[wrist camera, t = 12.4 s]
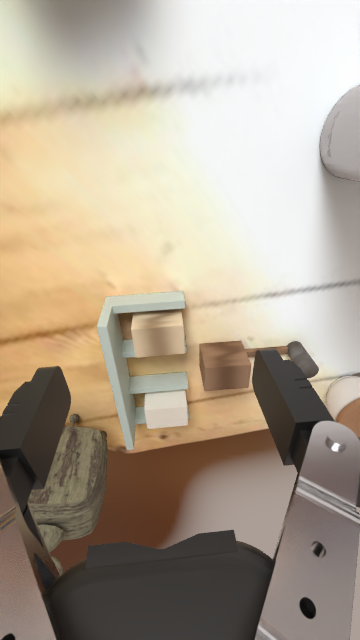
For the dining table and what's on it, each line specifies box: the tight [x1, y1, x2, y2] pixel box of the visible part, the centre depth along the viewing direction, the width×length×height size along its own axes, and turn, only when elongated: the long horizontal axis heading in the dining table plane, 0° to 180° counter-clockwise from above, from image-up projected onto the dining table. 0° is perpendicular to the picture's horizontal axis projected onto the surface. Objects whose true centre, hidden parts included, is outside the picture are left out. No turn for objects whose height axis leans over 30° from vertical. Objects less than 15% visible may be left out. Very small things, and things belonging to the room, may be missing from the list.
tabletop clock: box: [28, 414, 107, 576], centre depth 44 cm, size 14×9×25 cm, turn 80°
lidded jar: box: [326, 376, 360, 438], centre depth 51 cm, size 11×11×9 cm
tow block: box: [200, 341, 319, 391], centre depth 46 cm, size 18×5×6 cm, turn 92°
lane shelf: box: [97, 291, 189, 450], centre depth 44 cm, size 11×25×8 cm, turn 2°
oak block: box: [131, 309, 185, 358], centre depth 41 cm, size 7×5×6 cm
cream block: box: [144, 389, 188, 429], centre depth 49 cm, size 7×5×6 cm
